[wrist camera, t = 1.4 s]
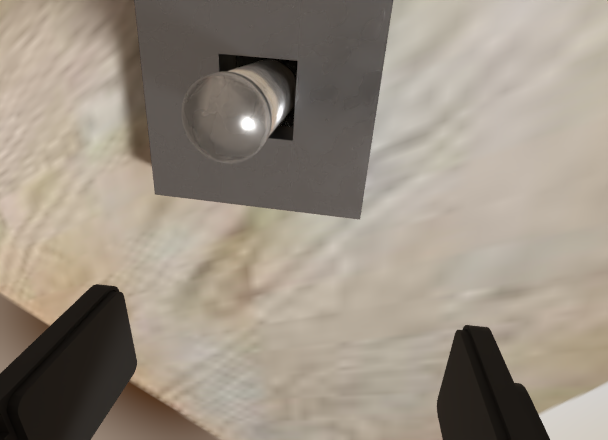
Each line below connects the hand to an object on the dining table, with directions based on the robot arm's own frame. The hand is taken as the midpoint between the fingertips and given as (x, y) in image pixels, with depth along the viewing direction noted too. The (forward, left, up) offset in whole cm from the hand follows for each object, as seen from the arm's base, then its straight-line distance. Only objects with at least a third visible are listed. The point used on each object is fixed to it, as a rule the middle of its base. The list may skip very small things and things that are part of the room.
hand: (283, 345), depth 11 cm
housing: (-3, -5, -22) cm, 23 cm away
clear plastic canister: (-3, -5, -22) cm, 23 cm away
